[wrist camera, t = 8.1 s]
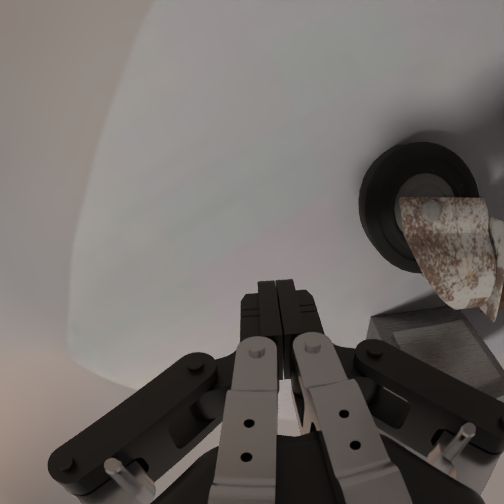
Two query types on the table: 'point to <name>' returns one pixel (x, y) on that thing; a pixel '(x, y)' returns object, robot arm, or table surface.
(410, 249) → the caster wheel
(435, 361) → the control box
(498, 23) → the table surface
